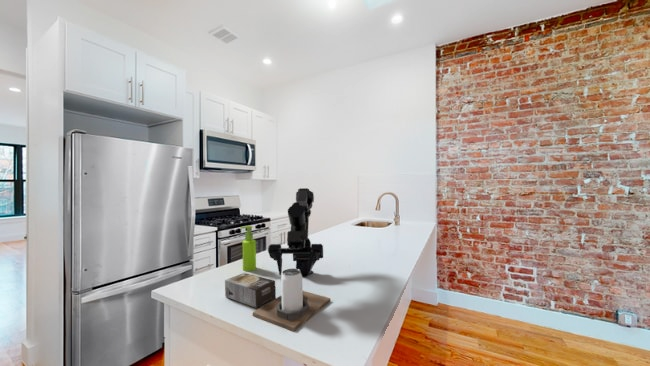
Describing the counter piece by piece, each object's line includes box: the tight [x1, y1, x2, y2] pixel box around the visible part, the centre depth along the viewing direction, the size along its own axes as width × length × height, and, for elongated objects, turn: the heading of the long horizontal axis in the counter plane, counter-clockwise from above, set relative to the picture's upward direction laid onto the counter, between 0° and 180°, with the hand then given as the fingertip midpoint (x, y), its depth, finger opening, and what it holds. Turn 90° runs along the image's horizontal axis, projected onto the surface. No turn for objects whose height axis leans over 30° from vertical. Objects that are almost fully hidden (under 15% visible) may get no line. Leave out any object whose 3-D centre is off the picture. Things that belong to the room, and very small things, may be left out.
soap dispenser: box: [239, 225, 257, 272], centre depth 119 cm, size 6×7×20 cm
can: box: [280, 268, 304, 312], centre depth 79 cm, size 6×6×12 cm
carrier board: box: [252, 290, 331, 332], centre depth 82 cm, size 20×16×3 cm
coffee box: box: [224, 272, 277, 309], centre depth 90 cm, size 9×6×16 cm
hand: (294, 274), depth 83 cm, fingers open, 9 cm apart
